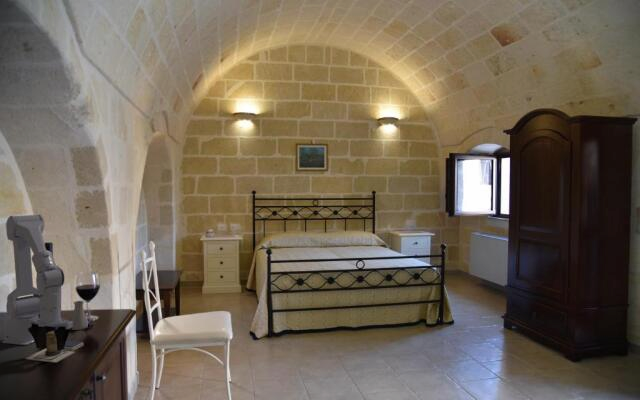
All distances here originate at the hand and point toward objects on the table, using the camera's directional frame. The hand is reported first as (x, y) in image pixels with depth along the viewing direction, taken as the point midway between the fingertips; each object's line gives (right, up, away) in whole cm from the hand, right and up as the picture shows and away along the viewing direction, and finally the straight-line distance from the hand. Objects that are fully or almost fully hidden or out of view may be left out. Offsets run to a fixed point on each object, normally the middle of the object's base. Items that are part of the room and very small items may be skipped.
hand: (50, 348), depth 140 cm
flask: (-6, -1, +26) cm, 27 cm away
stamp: (0, -2, +1) cm, 2 cm away
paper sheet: (0, -2, 0) cm, 2 cm away
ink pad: (+1, -2, +8) cm, 8 cm away
